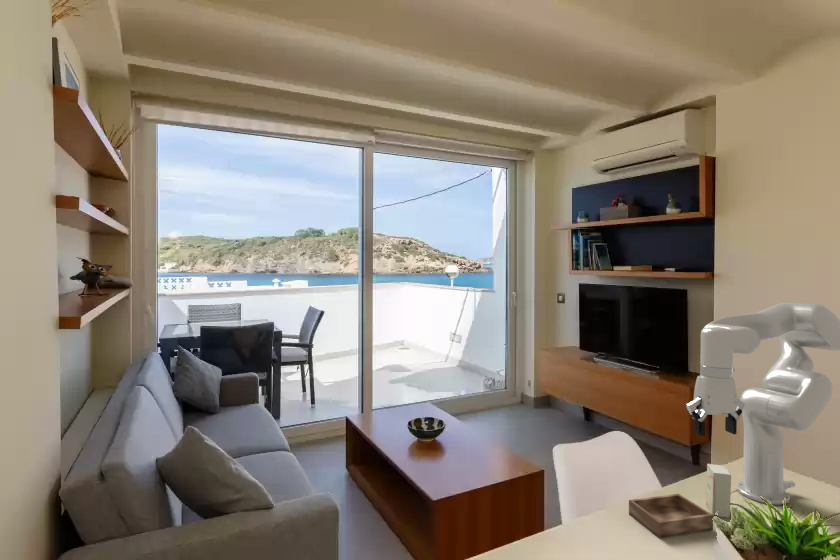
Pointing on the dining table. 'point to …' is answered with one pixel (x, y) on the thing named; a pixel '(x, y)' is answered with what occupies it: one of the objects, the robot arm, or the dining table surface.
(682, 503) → the box
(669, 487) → the dining table surface
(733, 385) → the robot arm
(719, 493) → the skincare box
